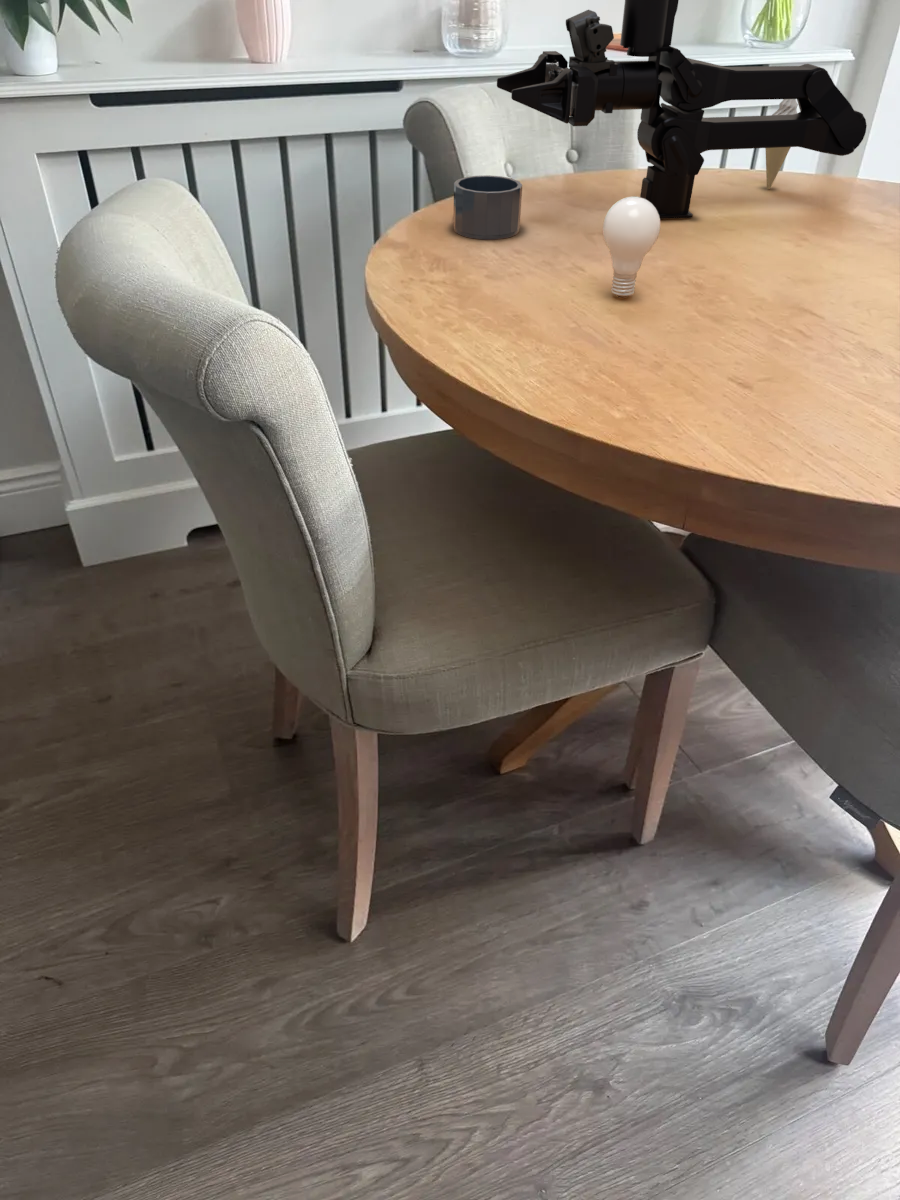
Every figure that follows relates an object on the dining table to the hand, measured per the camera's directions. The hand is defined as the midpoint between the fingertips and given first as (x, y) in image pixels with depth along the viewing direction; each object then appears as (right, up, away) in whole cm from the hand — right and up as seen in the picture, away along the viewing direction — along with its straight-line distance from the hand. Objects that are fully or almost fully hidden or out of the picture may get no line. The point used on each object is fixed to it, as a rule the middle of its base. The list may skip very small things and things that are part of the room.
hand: (504, 88), depth 116 cm
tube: (-2, -16, +7) cm, 17 cm away
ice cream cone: (+45, -1, +26) cm, 52 cm away
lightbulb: (+13, -33, -13) cm, 38 cm away
